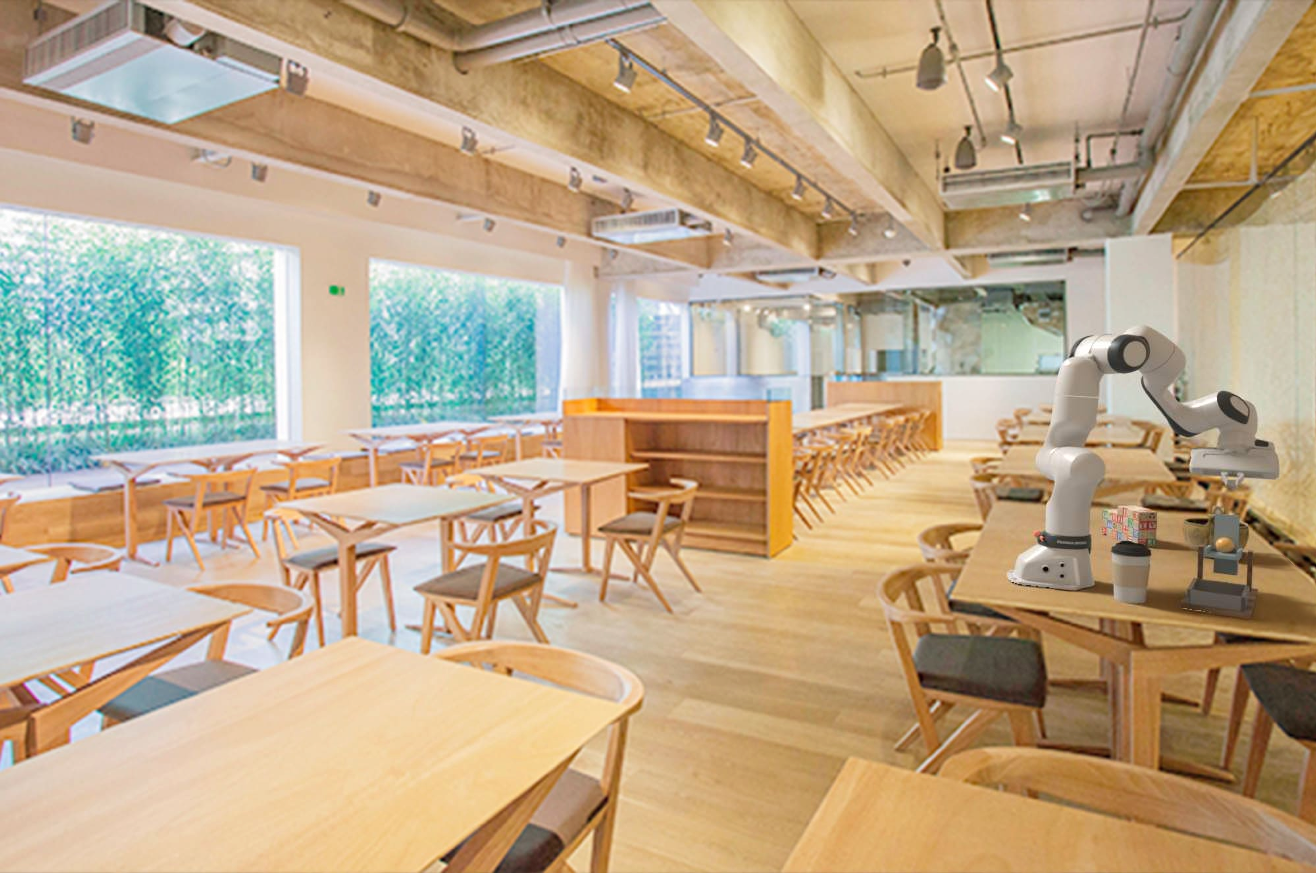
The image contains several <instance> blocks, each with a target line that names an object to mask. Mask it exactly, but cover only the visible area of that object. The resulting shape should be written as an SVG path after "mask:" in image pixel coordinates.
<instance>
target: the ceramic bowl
mask: <svg viewBox="0 0 1316 873" xmlns="http://www.w3.org/2000/svg"><path fill="white" fill-rule="evenodd" d="M1215 514H1226V506H1222V505H1212V507H1211V512H1210V513H1208V517H1190V518H1185V519H1183V523H1182V525H1183V526H1182V534H1183V538H1184V541H1185V543H1186V544H1187V545H1188V546H1189V548H1190V549H1192V550H1193V551H1194V552H1196V553H1198V546H1199V545H1204V548H1205V547H1207V546H1208V545H1212V549H1213V547H1214V527H1215ZM1249 530H1250V529H1249V524H1248V523H1246V522H1244V521H1243V522H1242V521H1239V542H1238V549H1239V548H1243V550H1244V549H1246V548H1245V547H1246V546H1247V544H1248V541H1249V539H1250V538H1249V536H1250V531H1249Z"/></svg>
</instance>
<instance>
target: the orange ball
mask: <svg viewBox="0 0 1316 873" xmlns="http://www.w3.org/2000/svg"><path fill="white" fill-rule="evenodd" d="M1216 548H1217V549H1218V550H1219V551H1220V552H1223V553H1229V552H1231V551H1232V550H1233V549H1234V543H1233V541H1232V540H1230V539H1228V538H1220V539H1218V540H1217V542H1216Z"/></svg>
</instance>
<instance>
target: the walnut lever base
mask: <svg viewBox="0 0 1316 873" xmlns="http://www.w3.org/2000/svg"><path fill="white" fill-rule="evenodd" d="M1204 558H1205V557H1204V545H1199V546H1198V552H1197V570H1196V571H1197V574H1196V577H1197V579H1204V577H1203V576H1204ZM1253 565H1254V550H1250V549H1249V550H1248V551H1247V565H1246V566H1247V567H1246V568H1247V569H1246V585H1249V600H1248V603H1247V606H1246V610H1245V612H1240V611H1234V610H1227V609H1220V608H1214V607H1207V606H1200V605H1194V604H1187V603H1186V600H1187V592H1186V593H1185V594H1184V596H1183V598H1182V600H1181V601H1180V606H1179V609H1180V608H1187V609H1192V610H1201V611H1205V612H1211V613H1214V614H1213V615H1217V614H1220V615H1219V616H1225V617H1230V618H1237V619H1245V620H1252V617H1253V612H1254V610H1255V606H1256V603H1257V602H1256V601H1257V598H1258V592H1259V591H1258V590H1259V589H1258V588H1253V587H1252V586H1253V571H1254V570H1253ZM1211 613H1210V614H1211Z"/></svg>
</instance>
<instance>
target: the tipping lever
mask: <svg viewBox="0 0 1316 873" xmlns="http://www.w3.org/2000/svg"><path fill="white" fill-rule="evenodd" d="M1240 516H1241V515H1238V514H1237V515H1236V514H1235V515H1234V514H1226V513H1225V514H1215V527H1214V547H1213V549H1212V545H1208V546H1207V547H1205V548H1204V558H1212V559H1213V570H1212V572H1213V574H1221V575H1229V576H1237V575H1238V574H1239V561H1240V559H1242V557H1245V558H1247V552H1246V551H1244V549H1243V548H1239V549H1238V542H1239V522H1241V521H1240ZM1220 538H1228V539H1230V540H1232V541H1233V543H1234V549H1233V550H1232V551H1231V552H1229V553H1223V552H1220V551H1219V550H1218V549H1217V548H1216V542H1217V540H1218V539H1220Z"/></svg>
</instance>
